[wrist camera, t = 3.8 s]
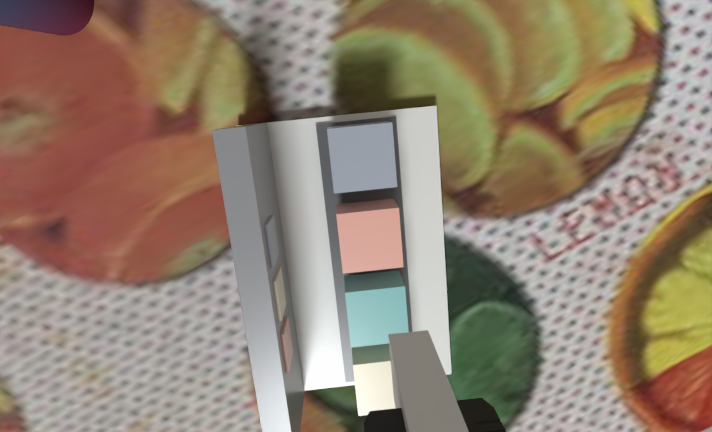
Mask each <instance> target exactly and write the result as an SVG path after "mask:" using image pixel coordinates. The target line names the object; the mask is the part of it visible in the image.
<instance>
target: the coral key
mask: <svg viewBox="0 0 712 432" xmlns="http://www.w3.org/2000/svg"><path fill="white" fill-rule="evenodd" d="M336 217H337V226H338V235H339V244H340V253H341V262H342V271H343V274H345V273H355V272H364V271H373V270H383V269H392V268H401V267H404V266H403V253H402V240H401V227H400V214H399V207H398V205H397V204H396V202H395V201H394V199H384V200H374V201H365V202H355V203H345V204H336Z"/></svg>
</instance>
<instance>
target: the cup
mask: <svg viewBox="0 0 712 432" xmlns="http://www.w3.org/2000/svg"><path fill="white" fill-rule="evenodd" d="M92 12H93V0H0V25H2V26H8V27H14V28H20V29H26V30H32V31H38V32H44V33H51V34H57V35H71V34H75V33H77V32H79V31H80V30H82V29H83V28H84V27H85V26H86V25H87V24H88V22H89V20H90V18H91V16H92Z"/></svg>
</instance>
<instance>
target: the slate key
mask: <svg viewBox="0 0 712 432" xmlns="http://www.w3.org/2000/svg"><path fill="white" fill-rule="evenodd" d="M327 135H328V144H329V153H330V162H331V172H332V181H333V190H334V194H335V193H345V192H355V191H364V190H374V189H384V188H393V187H397V176H396V163H395V150H394V137H393V124H392V122H388V121H383V122H373V123H363V124H353V125H344V126H334V127H328V128H327Z"/></svg>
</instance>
